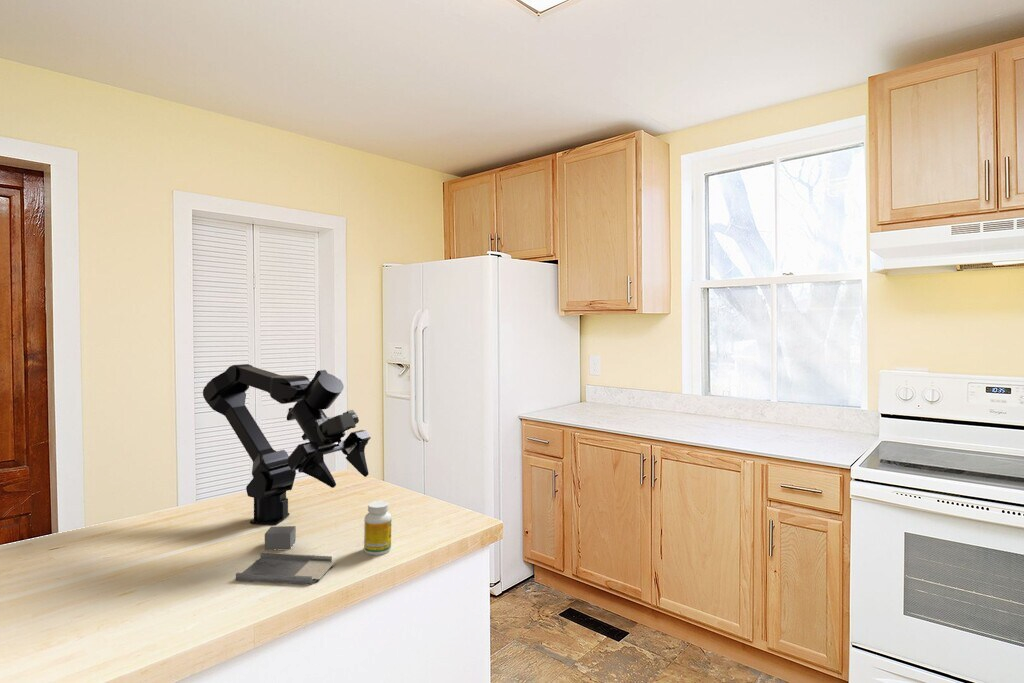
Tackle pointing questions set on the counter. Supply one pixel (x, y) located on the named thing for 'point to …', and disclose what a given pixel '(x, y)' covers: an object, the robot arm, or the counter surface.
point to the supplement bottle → (377, 529)
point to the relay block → (280, 537)
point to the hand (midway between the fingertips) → (351, 480)
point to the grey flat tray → (287, 568)
